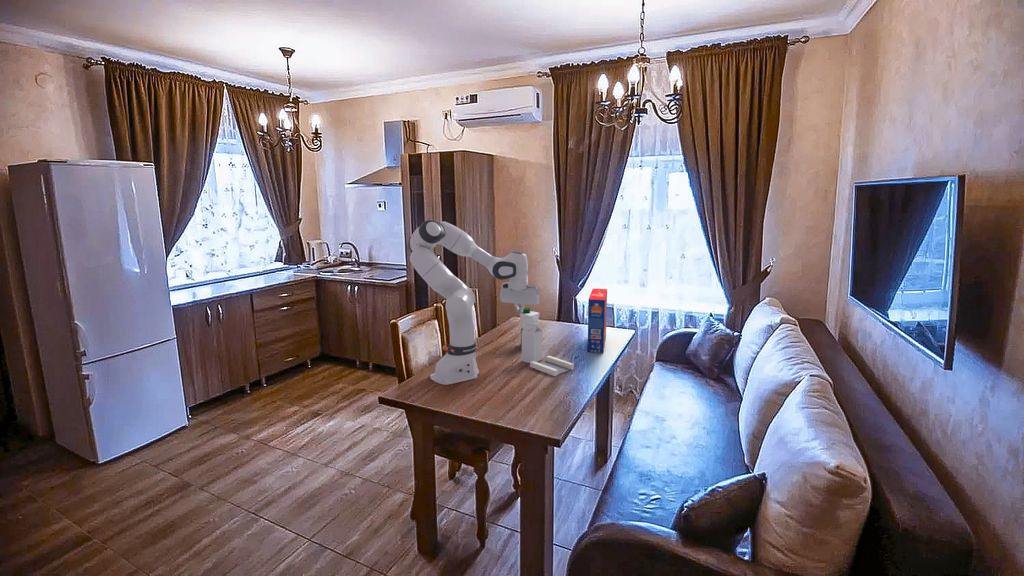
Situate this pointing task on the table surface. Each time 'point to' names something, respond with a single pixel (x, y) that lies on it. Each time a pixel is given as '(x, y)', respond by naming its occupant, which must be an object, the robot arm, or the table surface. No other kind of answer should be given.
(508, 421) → the table surface
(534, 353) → the milk carton
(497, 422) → the table surface
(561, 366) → the cradle
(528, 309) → the soya milk
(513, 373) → the table surface
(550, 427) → the table surface
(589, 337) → the pasta box
